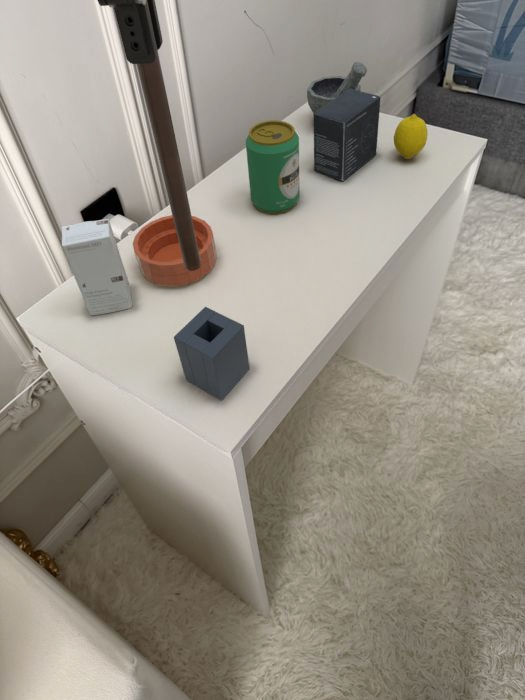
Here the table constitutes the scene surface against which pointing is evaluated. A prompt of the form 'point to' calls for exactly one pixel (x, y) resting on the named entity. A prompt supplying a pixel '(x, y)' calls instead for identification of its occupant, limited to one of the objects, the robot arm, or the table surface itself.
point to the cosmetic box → (97, 266)
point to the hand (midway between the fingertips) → (145, 54)
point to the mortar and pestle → (334, 87)
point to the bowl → (172, 252)
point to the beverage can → (273, 166)
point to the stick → (169, 158)
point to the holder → (213, 352)
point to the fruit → (410, 136)
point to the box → (346, 133)
